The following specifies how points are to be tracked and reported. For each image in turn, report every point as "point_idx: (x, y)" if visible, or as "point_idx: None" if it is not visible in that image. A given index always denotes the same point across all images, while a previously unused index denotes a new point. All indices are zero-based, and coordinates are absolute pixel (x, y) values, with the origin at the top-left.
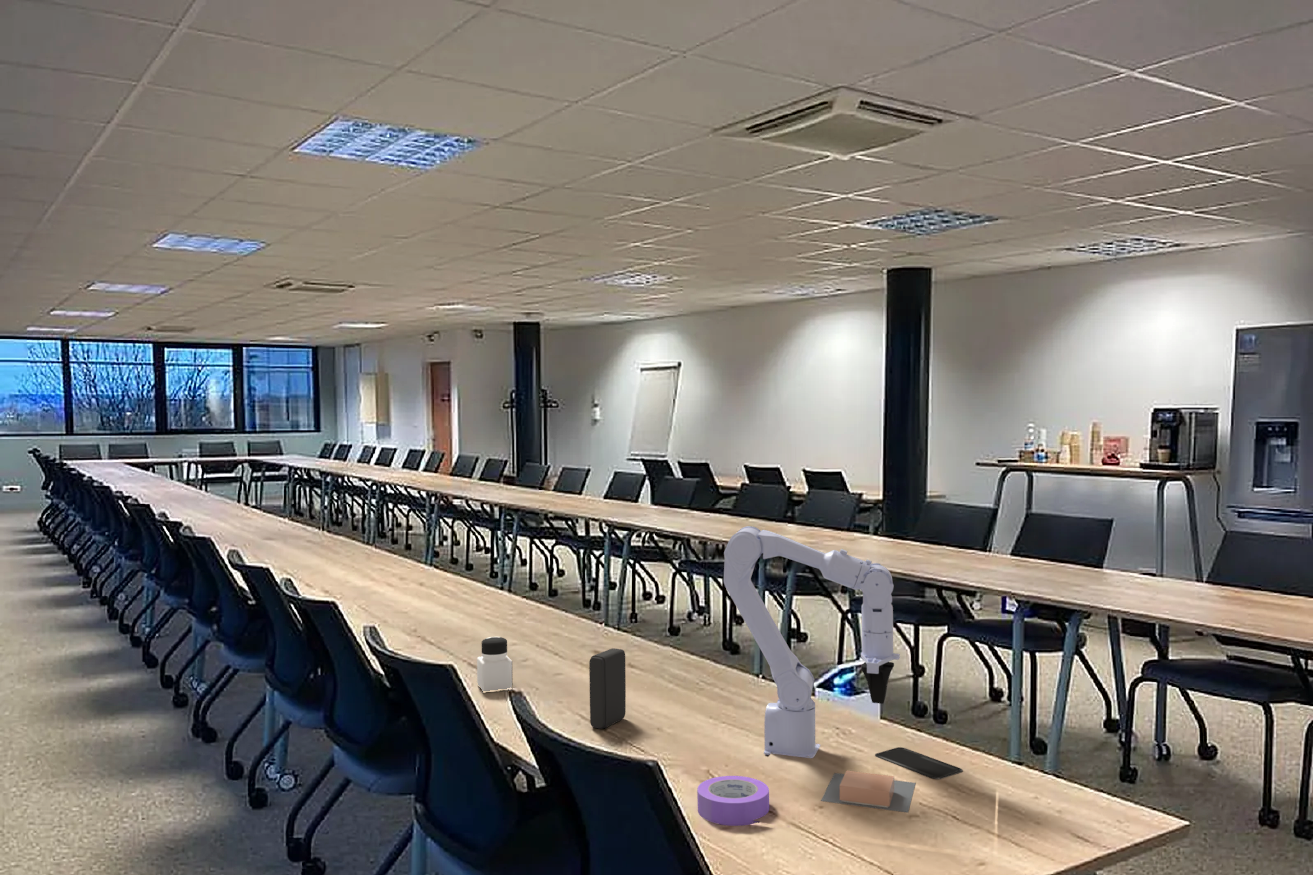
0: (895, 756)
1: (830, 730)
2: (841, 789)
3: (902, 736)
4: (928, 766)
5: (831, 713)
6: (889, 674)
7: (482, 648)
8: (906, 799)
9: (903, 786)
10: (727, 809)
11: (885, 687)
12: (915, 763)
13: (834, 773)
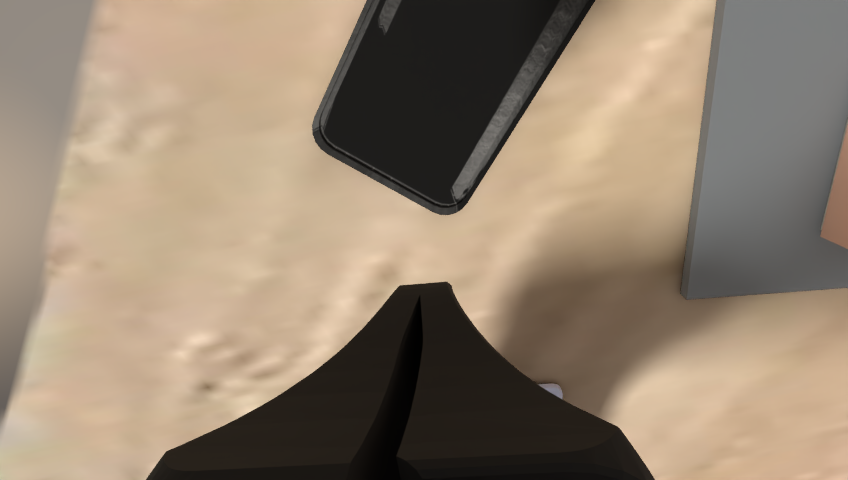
0: (427, 136)
1: (243, 399)
2: None
3: (144, 167)
4: None
5: (80, 432)
6: (604, 422)
7: None
8: None
9: (786, 21)
10: None
11: (484, 340)
12: (479, 33)
13: (693, 298)
